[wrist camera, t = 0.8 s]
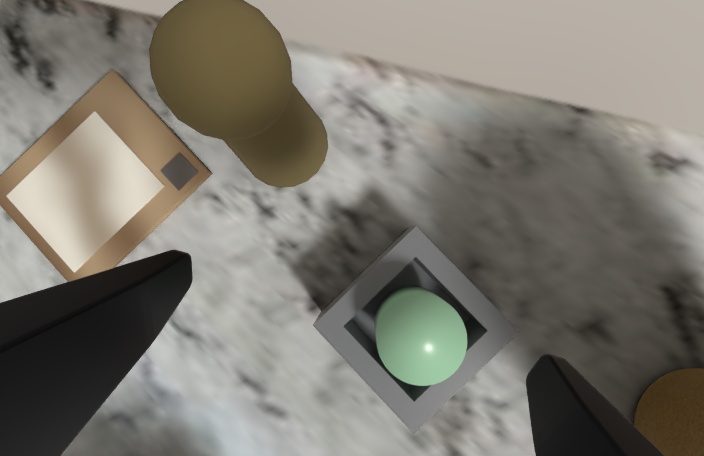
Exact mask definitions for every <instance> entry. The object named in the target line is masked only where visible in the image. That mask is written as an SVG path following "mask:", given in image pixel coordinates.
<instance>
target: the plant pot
mask: <svg viewBox="0 0 704 456" xmlns="http://www.w3.org/2000/svg"><path fill="white" fill-rule="evenodd" d="M634 426H635V427H636V428H637V429H638V430H639V431H640V432H641V433H642V434H643V435H644V436H645V437H646V438H647V439H648V440H649V441H650V442H651V443H652V444H653V445H654V446H655V447H656V448H657V449H658V450H659V451H660V452H661V453H662V454H664V455H665V456H704V369H702V368H686V369H680V370H676V371H672V372H670V373H667V374H665V375H663V376H662V377H660V378H659V379H657V380H656V381H655V382H653V383H652V384H651V385H650V386H649V387H648V388H647V389H646V391H645V392H644V394H643V395H642V397H641V399H640V400H639V403H638V405H637V408H636V412H635V417H634Z"/></svg>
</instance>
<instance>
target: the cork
mask: <svg viewBox="0 0 704 456" xmlns="http://www.w3.org/2000/svg"><path fill="white" fill-rule="evenodd" d="M149 51H150V69H151V75H152V79H153V81H154V84H155V87H156V89H157V92H158V94H159V96H160V98H161V99H162V100H163V101H164V103H165V104H166V105H167V106H168V108H169V109H170V110H171V111H172V113H173V114H174V115H175V116H176V117H177V119H178V120H180V121H182V122H183V123H185V124H186V125H188V126H190V127H191V128H193V129H195V130H196V131H198V132H199V133H201V134H203V135H206V136H210V137H214V138H218V139H223V140H224V141H225V143H226V144H227V145H228V146H229V147H230V148H231V149H232V151H233V152H234V153H235V154H236V155H237V156H238V158H239V159H240V160H241V161H242V162H243V163H244V165H245V166H246V167H247V168H248V169H249V170H250V171H251V173H252V174H253V175H254V176H255V177H256V178H258V179H259V180H261V181H262V182H264V183H266V184H268V185H272V186H276V187H280V188H281V187H294V186H296V185H299V184H301V183H304V182H306V181H308V180H309V179H310V178H311V177H312V176H313V175H315V174H316V173H317V172H318V170H319V169H320V167H321V165H322V164H323V162H324V161H325V157H326V153H327V149H328V141H327V132H326V130H325V127H324V125H323V123H322V121H321V119H320V118H319V117H318V115H317V114H316V113H315V112H314V110H313V109H312V108H311V106H310V105H309V104H308V103H307V101H306V100H305V99H304V97H303V96H302V95H301V94H300V92H299V91H298V90H297V88H296V87H295V86H294V85H293V83H292V70H291V60H290V57H289V54H288V52H287V49H286V47H285V44H284V42H283V40H282V37H281V35H280V33H279V32H278V30H277V29H276V28H275V27H274V26H273V25H272V23H271V22H270V21H269V20H268V19H267V18H266V17H265V15H264V14H263V13H262V12H261V11H260V10H259V9H257V8H255V7H254V6H252V5H250V4H249V3H247V2H245V1H244V0H183V1H181V2H179V3H178V4H177V5H175V6H174V7H173V8H172V9H171V10H170V11H168V12H167V13H166V14H165V15H164V16H163V18H162V20H161V21H160V23H159V24H158V26H157V27H156V29H155V31H154V34H153V38H152V41H151V45H150V49H149Z"/></svg>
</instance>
